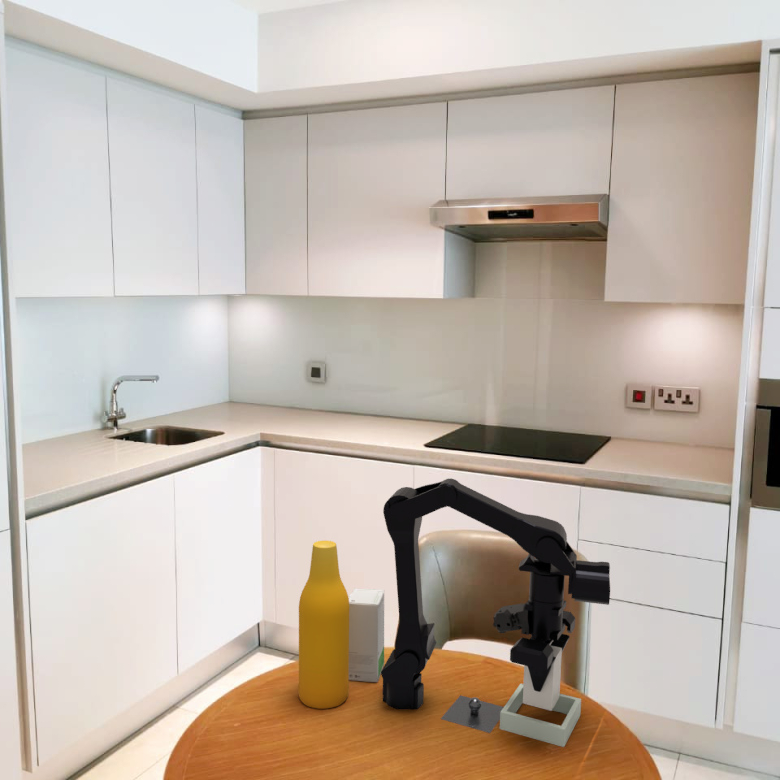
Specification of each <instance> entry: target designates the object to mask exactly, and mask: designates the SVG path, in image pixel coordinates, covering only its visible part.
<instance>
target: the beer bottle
mask: <svg viewBox="0 0 780 780" xmlns="http://www.w3.org/2000/svg"><path fill="white" fill-rule="evenodd" d="M337 548H338V547H337V542H335V541H332V540H318V541H315V542H313V543H312V550H311V551H312V552H311V559H310V567H309V575H308V578H307V581H306V583H305V585H304V587H303V589H302V590H301V593H300V597H299V600H298V601H299V603H298V684H297V685H298V686H297V692H298V696H299V701H301V703H303V704H304V705H305V706H307V707H309V708H312V709H321V710H324V709H325V710H326V709H333V708H336V707H338V706H340V705H342V704H344V702H345V701H346V700H347V698H348V696H349V692H350V691H349V690H350V682H349V681H350V680H349V610H350V608H349V595H348V592H347V589H346V587H345V585H344V583H343V580H342V578H341V575H340V568H339V558H338V557H339V556H338V549H337Z"/></svg>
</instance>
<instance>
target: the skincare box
mask: <svg viewBox="0 0 780 780" xmlns="http://www.w3.org/2000/svg"><path fill="white" fill-rule="evenodd" d="M348 598H349V608H350V610H349V681H355V682H356V681H357V682H367V683H378V682H379V680H380V677H381V676H382V675H381V671H382V669H383V667H384V665H385V589H375V588H374V589H371V588H355V587H354V588H353V590H352V592H351V593H350V594H349V595H348Z"/></svg>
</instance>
